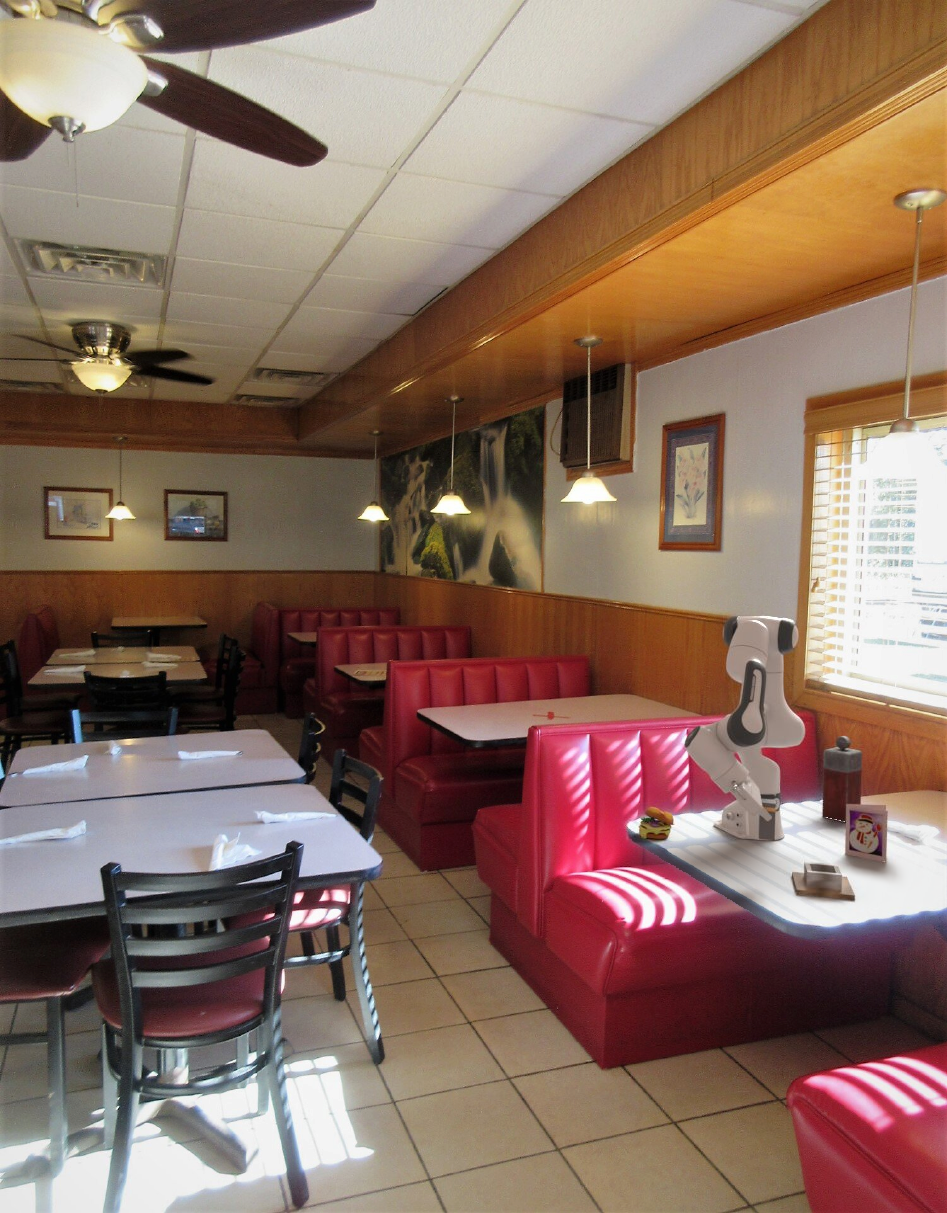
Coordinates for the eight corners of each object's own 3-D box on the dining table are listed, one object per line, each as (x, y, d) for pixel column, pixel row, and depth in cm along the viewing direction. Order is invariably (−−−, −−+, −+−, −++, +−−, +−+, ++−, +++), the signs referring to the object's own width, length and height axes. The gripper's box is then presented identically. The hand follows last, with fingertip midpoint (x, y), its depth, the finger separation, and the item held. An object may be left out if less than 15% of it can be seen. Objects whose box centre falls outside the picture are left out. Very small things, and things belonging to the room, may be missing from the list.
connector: (758, 838, 235) (759, 802, 234) (758, 834, 239) (759, 798, 238) (774, 840, 234) (775, 803, 233) (773, 835, 238) (774, 799, 237)
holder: (796, 894, 227) (797, 874, 226) (792, 875, 240) (792, 857, 240) (854, 899, 223) (855, 879, 223) (846, 881, 236) (847, 862, 236)
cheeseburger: (629, 833, 277) (635, 802, 278) (654, 837, 282) (660, 806, 283) (651, 842, 268) (657, 809, 269) (676, 845, 274) (682, 813, 275)
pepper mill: (864, 817, 297) (866, 736, 296) (846, 823, 291) (848, 739, 290) (839, 811, 305) (842, 732, 303) (821, 816, 298) (823, 735, 297)
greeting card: (844, 854, 259) (845, 804, 258) (851, 848, 264) (852, 799, 264) (885, 862, 251) (886, 811, 251) (892, 856, 257) (893, 806, 256)
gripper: (742, 779, 227) (781, 819, 225) (740, 761, 247) (775, 798, 245) (724, 795, 229) (762, 835, 227) (723, 776, 248) (758, 812, 246)
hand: (769, 816), depth 236 cm, fingers closed on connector, 4 cm apart
